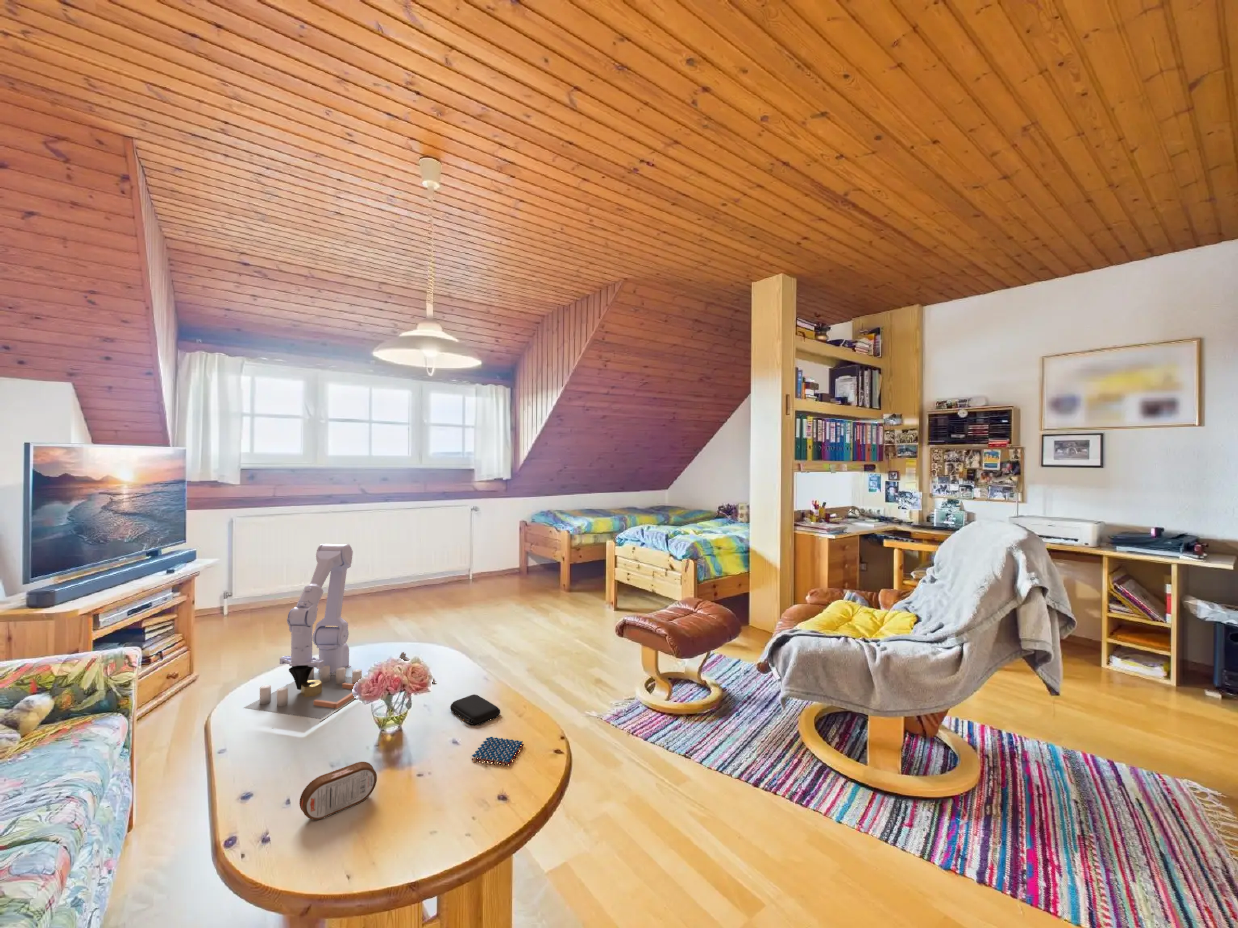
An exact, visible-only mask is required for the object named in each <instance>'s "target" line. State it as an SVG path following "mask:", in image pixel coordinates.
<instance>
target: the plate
mask: <svg viewBox="0 0 1238 928" xmlns="http://www.w3.org/2000/svg"><path fill="white" fill-rule="evenodd" d="M346 669H347V667H341V668H337V669H336V672H335V674H331V673H330V666H328V665H326V666H324V667H322V668H320V672H315V667H313V669H312V671H311V673H310V675H309V677H308V680H307V681H309V680H320V681H321V682H322V692H321V693H319V694H317V695H316V696H309V697H304V696H303V695H302V694H301V690H297V687H296V683H295V680H294V681H292V682H290V683H288V684H287V685H285V686H282V687H280V688H277V689H276V690H274V692H272V685H270V684H267V685H266V684H265V685H262V686H260V688H259V699H257V700H256V701H254V702H251V703H250V704H248V705H246V706H244V707H243V709H248V710H255V711H263V712H269V713H277V714H283V715H288V716H289V715H291V716H297V717H303V718H309V719H310V718H311V719H317V720H320V721H319V723H321V722H323V721H325V720H326V719H328V718H329V717H330V716H333V715H334V714H335V713H337V712H338V711H340V710H341V709H343V708H345V707H346V706H348V705H349V704H351V703H352V702H354V701H355V700H356V698H353V700H352V699H350V700H349V701H350V702H349V701H347V702H346V703H344V704H343V705H344V706H341V707H339V708H332V707H325V706H317V705H314V700H324V701H331V702H338V701H339V700H341V699H342V698H344V697H346V696H347V695H349V694H350V693H352V689H348V688H342V684H343V683H351V684H355V683H356V682H358V680H359V679H361V678H362V679H363V670H362V669H360V668H359V669H353V670H352V672H351V673H352V674H351V677H350V676H346ZM337 709H338V710H337ZM335 710H336V711H335ZM334 711H335V712H334ZM332 712H333V713H332ZM330 713H331V714H330ZM329 714H330V715H329ZM327 715H328V716H327ZM326 716H327V717H326ZM324 717H325V718H324ZM322 718H324V719H322ZM321 719H322V720H321Z"/></svg>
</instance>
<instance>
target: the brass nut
mask: <svg viewBox="0 0 1238 928" xmlns="http://www.w3.org/2000/svg"><path fill="white" fill-rule="evenodd" d="M321 692H322V682H321V681H320V680H309V681H307V682H305V683H303V684H301V694H302V695H303V696H304V697H309V696H316V695H317V694H319V693H321Z"/></svg>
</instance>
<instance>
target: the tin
mask: <svg viewBox="0 0 1238 928" xmlns="http://www.w3.org/2000/svg"><path fill="white" fill-rule="evenodd" d="M377 781H378V775H377V772H376V769H374V767H373V765H372V764H371V763H369V762H367V761H358V762H355V763H352V764H348V765H346V766H344V767H341V768H338V769H335V770H333V771H329V772H327V773H324V774H322V775H319V776H318V777H315V778H314V779H313V780H311V781H310V782H309V783H308V784H307V785H306V786H305V788H304V789H303V791H302V792H301V794H300V797H299V809H300V810H301V812H302V813H303V814H304V816H305V817H306V818H308V819H309V820H316V821H317V820H321V819H324V817H325V818H327V817H329V815H330V816H332V815H334V814H336V812H337V813H339V812H341V811H344V810H345V809H349V808H351V807H353V806H356V805H358V803H359V804H360V803H362V802H364V801H365V800H366V799H368V798H369V797H370V796H371V794H372V793H373V791H374V790H375V788H376V785H377Z"/></svg>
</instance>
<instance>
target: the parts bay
mask: <svg viewBox="0 0 1238 928" xmlns="http://www.w3.org/2000/svg"><path fill="white" fill-rule="evenodd" d="M353 686H354V684H351V683H343V684H342V688H348V689H353ZM350 699H351V700H352V699H355V697H354V696H353V694H352V693H350V694H349V695H347V696H346V697H344V698H342V699H341V700H339V701H338V702H331V701H324V700H314V705H317V706H325V707H332V708H337V709H339V708H341V707H342V705H345V704H347V703H348V702H349V701H351V700H350ZM347 701H348V702H347ZM344 703H345V704H344Z"/></svg>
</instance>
